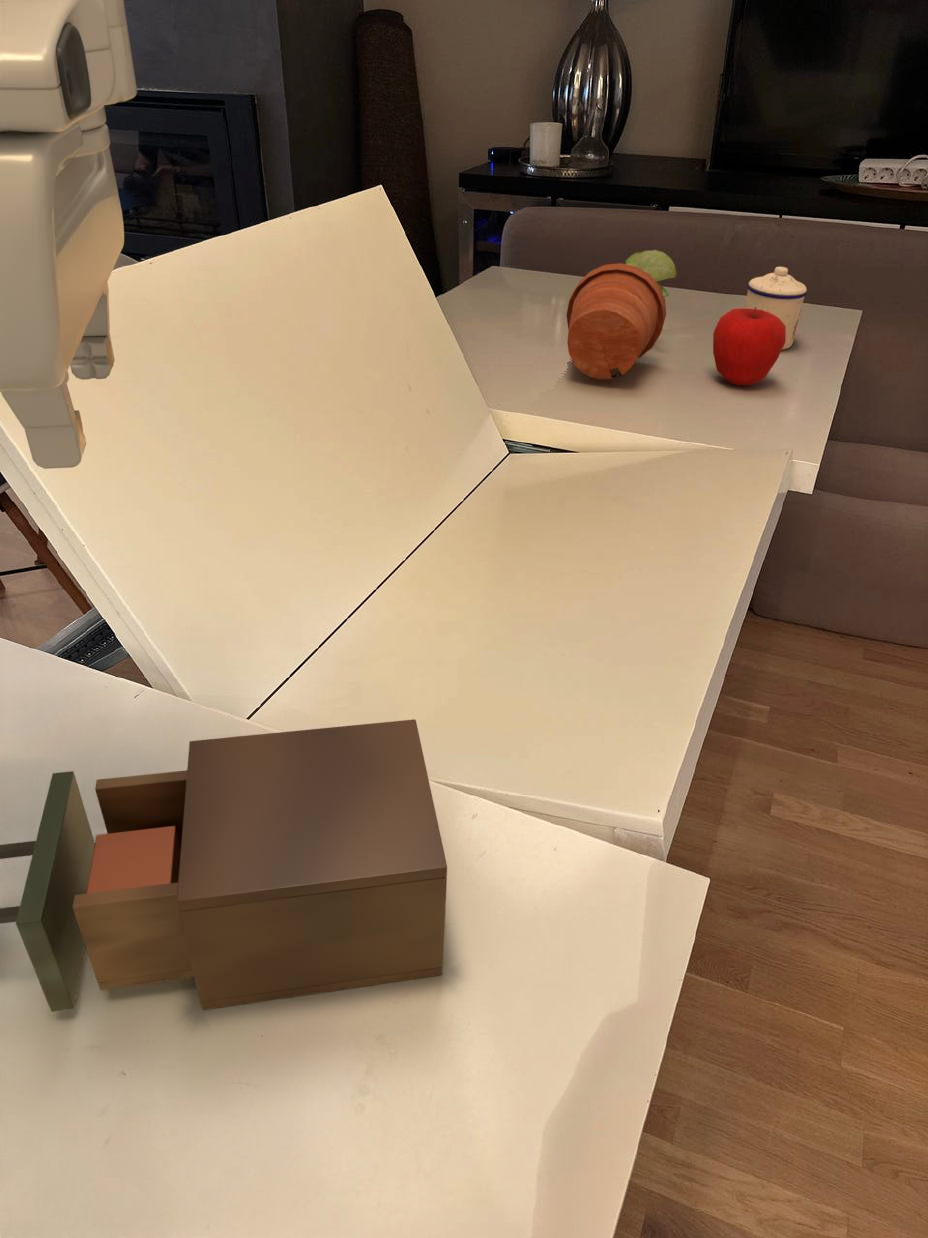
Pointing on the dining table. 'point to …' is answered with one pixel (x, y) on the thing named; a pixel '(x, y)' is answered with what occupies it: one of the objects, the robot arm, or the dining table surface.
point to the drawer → (103, 921)
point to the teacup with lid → (778, 299)
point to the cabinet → (310, 863)
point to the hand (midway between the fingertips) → (80, 413)
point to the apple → (747, 345)
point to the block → (135, 859)
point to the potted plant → (618, 314)
